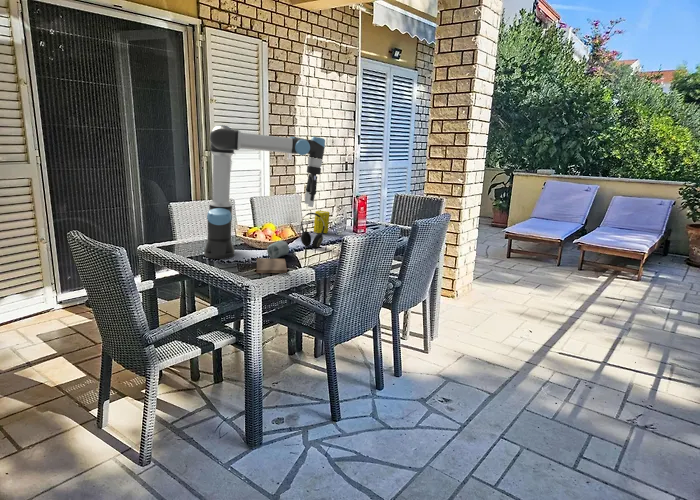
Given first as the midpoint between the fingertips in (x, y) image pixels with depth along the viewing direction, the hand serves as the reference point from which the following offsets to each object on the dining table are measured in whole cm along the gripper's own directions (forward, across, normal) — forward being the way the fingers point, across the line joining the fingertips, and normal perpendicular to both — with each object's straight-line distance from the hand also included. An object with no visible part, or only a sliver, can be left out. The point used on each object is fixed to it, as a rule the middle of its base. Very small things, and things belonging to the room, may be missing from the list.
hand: (308, 205), depth 255 cm
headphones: (+25, +9, -7) cm, 27 cm away
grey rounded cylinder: (+28, -11, +14) cm, 34 cm away
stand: (+30, -30, +18) cm, 46 cm away
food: (+21, +43, -18) cm, 51 cm away
